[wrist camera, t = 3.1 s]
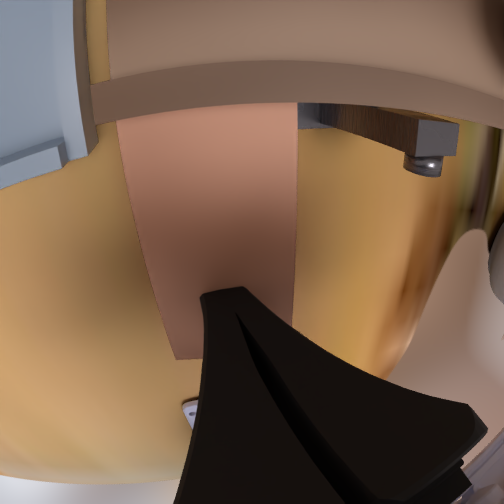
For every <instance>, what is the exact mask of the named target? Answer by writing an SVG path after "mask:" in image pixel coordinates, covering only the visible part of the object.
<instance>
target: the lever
mask: <svg viewBox="0 0 504 504" xmlns="http://www.w3.org/2000/svg"><path fill="white" fill-rule="evenodd" d="M106 3H107V35H108V52H109V65H110V76H111V80H108V81H104V82H100V83H96V84H93V85H90V89H91V98H92V106H93V113H94V120H95V125H99V124H103V123H108V122H112V121H116V125H117V132H118V139H119V145H120V151H121V157H122V162H123V168H124V173H125V178H126V183H127V188H128V193H129V198H130V202H131V207H132V211H133V216H134V220H135V224H136V228H137V233H138V237H139V241H140V245H141V248H142V252H143V256H144V260H145V264H146V267H147V271H148V274H149V278H150V281H151V285H152V288H153V292H154V295H155V298H156V302H157V305H158V308H159V311H160V314H161V317H162V320H163V324H164V327H165V330H166V333H167V336H168V338H169V341H170V344H171V347H172V350H173V353H174V356H175V358H176V360H183V359H202V358H203V342H204V324H203V314H202V309H201V304H200V299H199V297H200V296H201V295H202V294H203V293H207V292H212V291H216V290H220V289H227V288H233V287H240V286H244V287H245V288H247V289H248V290H249V291H250V292H251V293H252V294H253V295H254V296H255V297H256V298H257V299H258V300H260V301H261V302H262V303H263V304H264V305H265V306H266V307H268V308H269V309H270V310H271V311H272V312H273V313H275V314H276V315H277V316H278V317H279V318H281V319H282V320H283V321H285V322H286V323H287V324H289V325H290V326H291V327H292V313H293V295H294V275H295V251H296V221H297V164H298V121H297V103H337V104H354V105H367V106H378V107H388V108H397V109H405V110H412V111H419V112H425V113H431V114H437V115H443V116H448V117H453V118H458V119H463V120H468V121H472V122H477V123H481V124H485V125H489V126H493V127H497V128H500V129H504V0H106Z"/></svg>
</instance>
